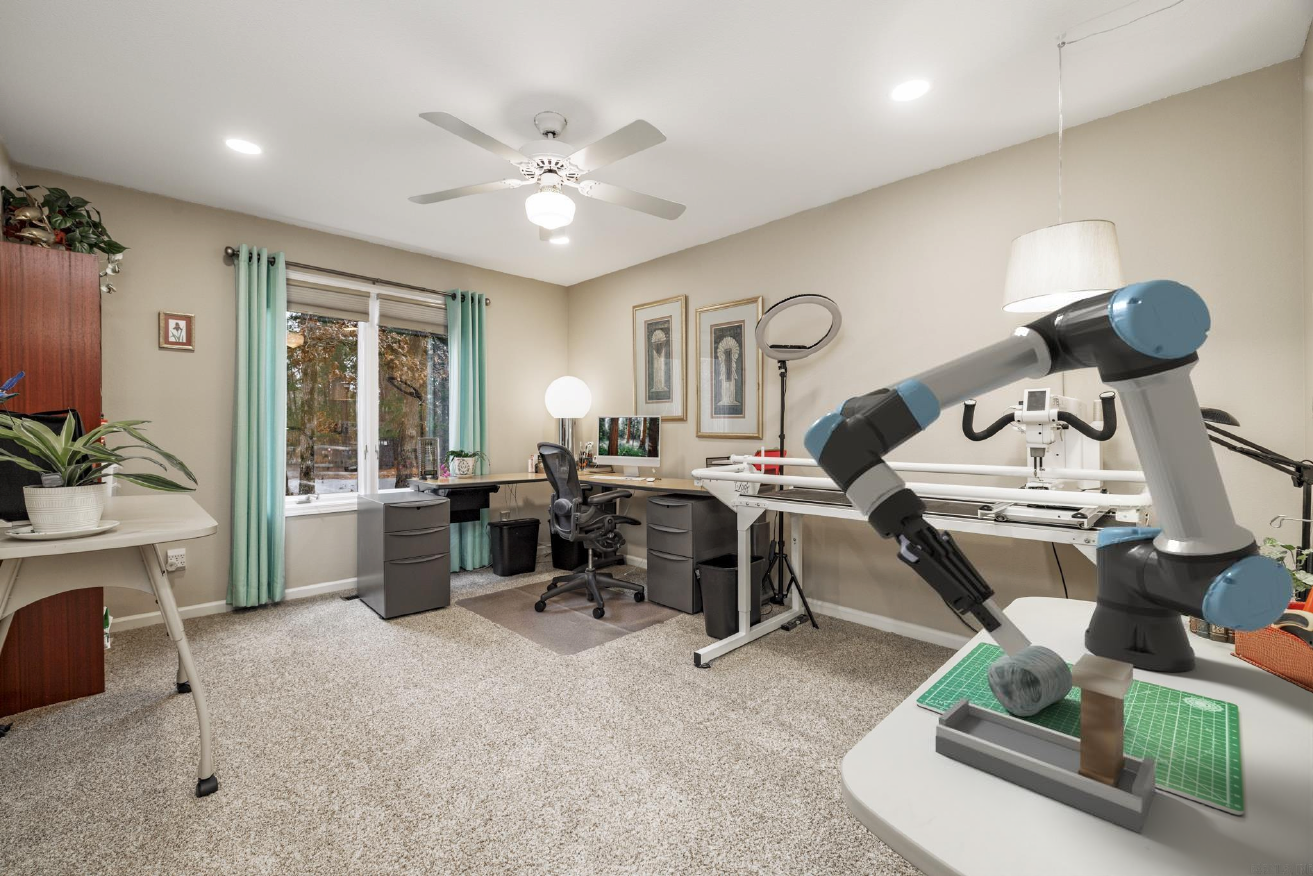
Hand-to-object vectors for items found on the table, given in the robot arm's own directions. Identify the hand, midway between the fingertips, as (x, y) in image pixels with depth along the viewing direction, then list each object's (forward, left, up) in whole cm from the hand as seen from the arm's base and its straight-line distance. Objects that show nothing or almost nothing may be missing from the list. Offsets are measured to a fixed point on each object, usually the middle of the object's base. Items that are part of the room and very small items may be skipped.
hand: (1020, 650), depth 70 cm
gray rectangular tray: (-1, +2, -14) cm, 14 cm away
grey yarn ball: (-13, -13, -14) cm, 23 cm away
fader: (-4, +7, -11) cm, 14 cm away
